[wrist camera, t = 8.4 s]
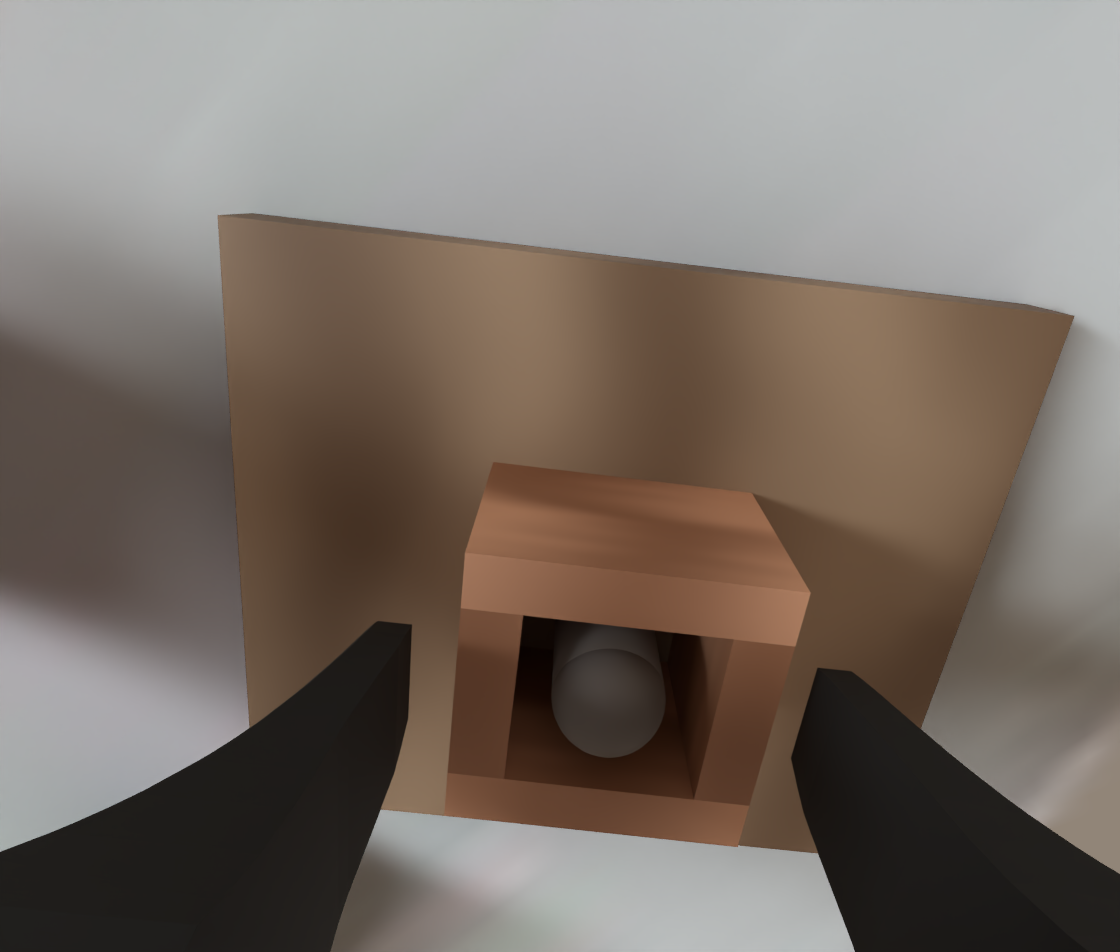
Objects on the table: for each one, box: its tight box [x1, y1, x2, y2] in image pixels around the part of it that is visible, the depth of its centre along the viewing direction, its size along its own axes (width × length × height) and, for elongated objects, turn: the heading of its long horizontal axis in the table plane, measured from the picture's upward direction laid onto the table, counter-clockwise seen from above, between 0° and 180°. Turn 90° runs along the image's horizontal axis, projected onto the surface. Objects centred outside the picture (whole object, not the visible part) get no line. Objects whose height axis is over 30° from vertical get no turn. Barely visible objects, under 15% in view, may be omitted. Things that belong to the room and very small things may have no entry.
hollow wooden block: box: [444, 462, 811, 847], centre depth 14 cm, size 5×5×4 cm
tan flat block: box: [218, 213, 1074, 853], centre depth 14 cm, size 16×14×6 cm
